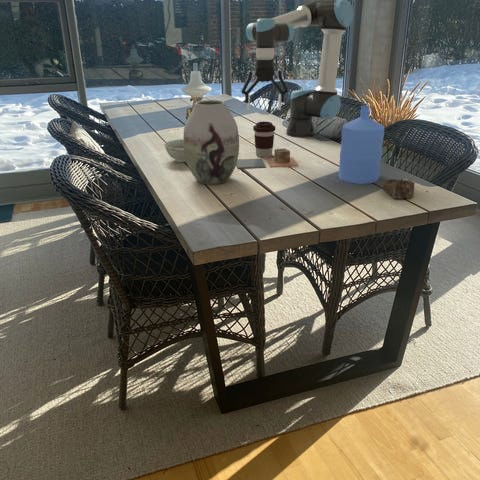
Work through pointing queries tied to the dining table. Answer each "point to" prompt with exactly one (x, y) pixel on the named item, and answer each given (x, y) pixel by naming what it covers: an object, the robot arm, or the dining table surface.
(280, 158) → the walnut block
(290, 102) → the robot arm
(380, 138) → the water jug
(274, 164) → the terracotta tile
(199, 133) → the vase
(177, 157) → the bowl
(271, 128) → the coffee cup
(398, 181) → the rock
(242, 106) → the dining table surface
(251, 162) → the slate tile
